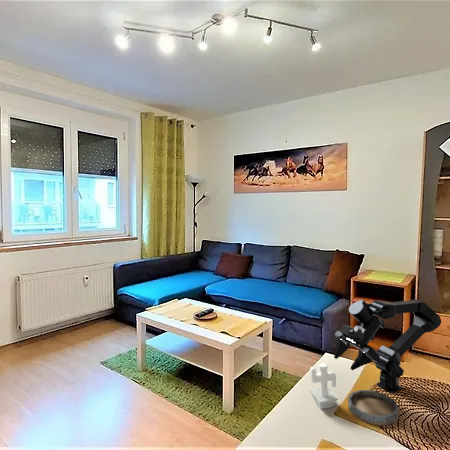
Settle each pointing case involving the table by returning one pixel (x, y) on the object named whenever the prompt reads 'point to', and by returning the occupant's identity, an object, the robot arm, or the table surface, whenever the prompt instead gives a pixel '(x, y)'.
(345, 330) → the robot arm
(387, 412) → the brown round plate
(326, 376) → the figurine
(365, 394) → the round grey tray
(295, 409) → the table surface
